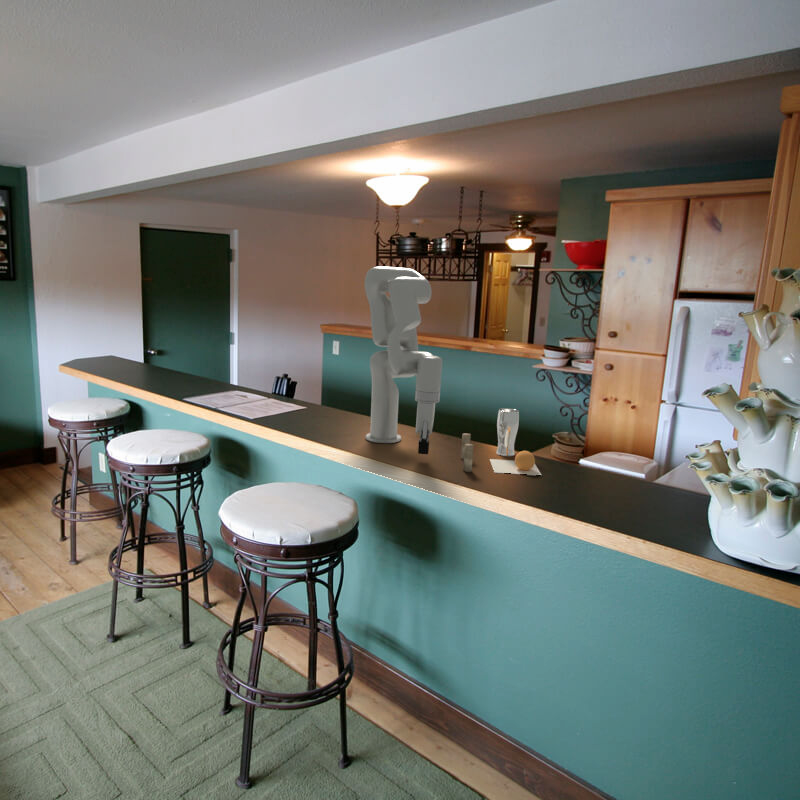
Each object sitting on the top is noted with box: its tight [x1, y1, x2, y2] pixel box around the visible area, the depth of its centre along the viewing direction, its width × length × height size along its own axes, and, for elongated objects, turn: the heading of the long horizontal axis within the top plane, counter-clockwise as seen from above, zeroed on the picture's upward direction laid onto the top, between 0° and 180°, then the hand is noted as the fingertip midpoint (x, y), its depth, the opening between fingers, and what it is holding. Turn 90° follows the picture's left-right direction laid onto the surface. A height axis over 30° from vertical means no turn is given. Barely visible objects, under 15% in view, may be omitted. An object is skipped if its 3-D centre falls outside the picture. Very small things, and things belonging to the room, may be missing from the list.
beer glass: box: [495, 407, 520, 457], centre depth 189 cm, size 7×7×15 cm
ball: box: [514, 450, 536, 471], centre depth 173 cm, size 6×6×6 cm
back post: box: [460, 433, 472, 460], centre depth 182 cm, size 3×3×8 cm
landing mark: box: [489, 458, 542, 477], centre depth 176 cm, size 14×14×1 cm
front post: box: [462, 443, 474, 473], centre depth 169 cm, size 3×3×8 cm
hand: (423, 453), depth 177 cm, fingers closed
